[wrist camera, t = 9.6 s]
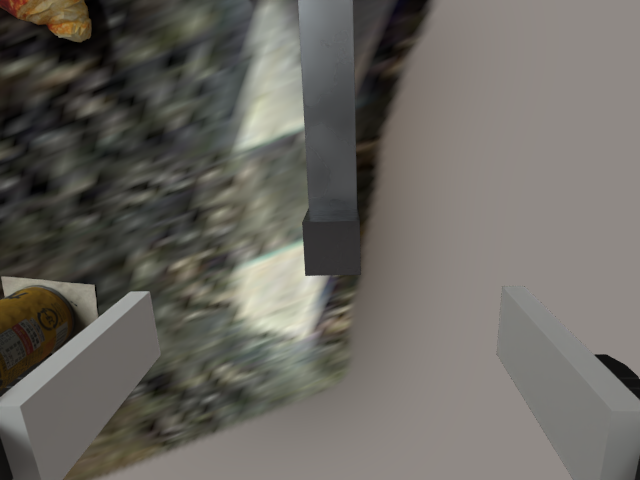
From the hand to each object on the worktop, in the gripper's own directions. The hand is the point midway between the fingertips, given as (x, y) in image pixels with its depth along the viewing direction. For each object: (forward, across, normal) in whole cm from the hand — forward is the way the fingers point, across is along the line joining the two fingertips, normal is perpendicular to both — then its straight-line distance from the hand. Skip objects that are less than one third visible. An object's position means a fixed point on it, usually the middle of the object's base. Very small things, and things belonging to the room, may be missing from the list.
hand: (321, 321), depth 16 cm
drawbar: (+17, 0, +10) cm, 19 cm away
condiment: (+19, -26, -9) cm, 33 cm away
